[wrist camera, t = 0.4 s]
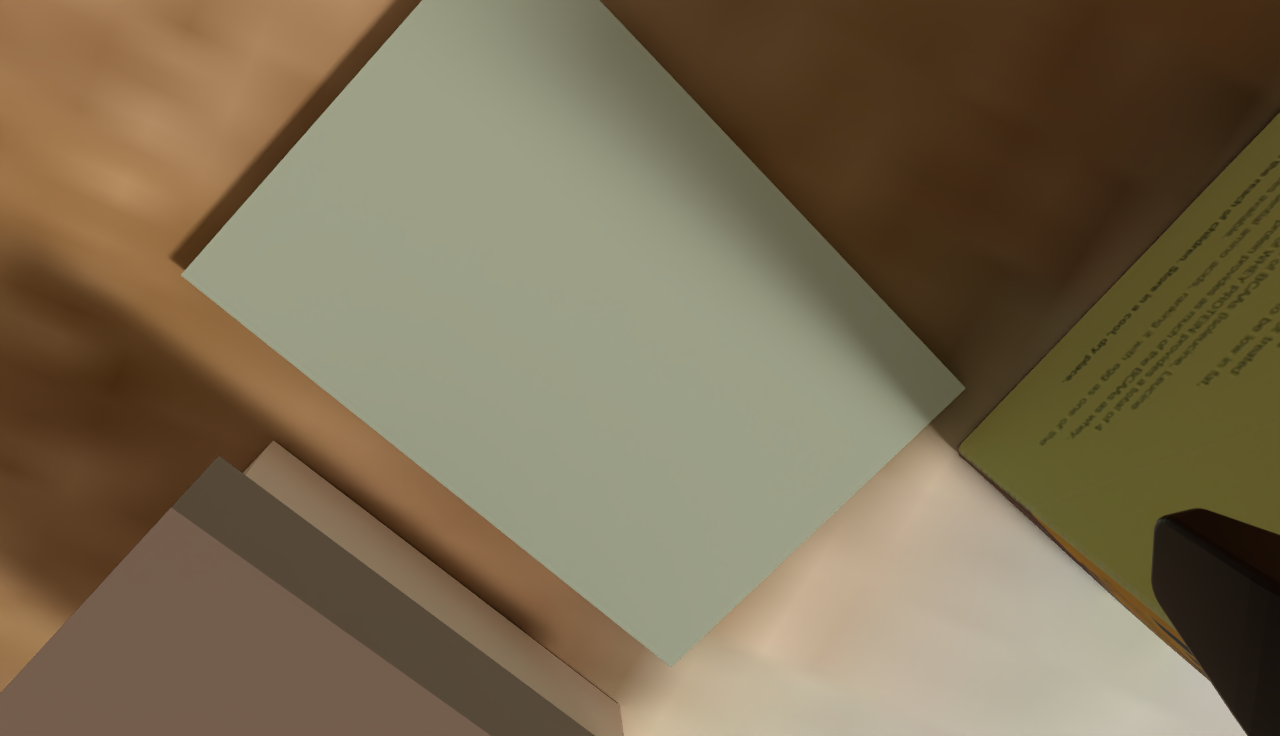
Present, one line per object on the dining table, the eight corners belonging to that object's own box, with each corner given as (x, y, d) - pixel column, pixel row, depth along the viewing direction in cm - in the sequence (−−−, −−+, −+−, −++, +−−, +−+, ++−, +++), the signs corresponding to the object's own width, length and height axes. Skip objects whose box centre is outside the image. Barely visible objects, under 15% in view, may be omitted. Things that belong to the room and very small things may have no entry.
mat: (669, 658, 25) (671, 667, 25) (187, 272, 21) (180, 275, 20) (958, 383, 24) (966, 388, 23) (508, -93, 19) (507, -98, 19)
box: (477, 840, 26) (464, 1005, 21) (122, 603, 23) (11, 734, 18) (619, 705, 25) (639, 844, 20) (273, 439, 22) (199, 532, 17)
